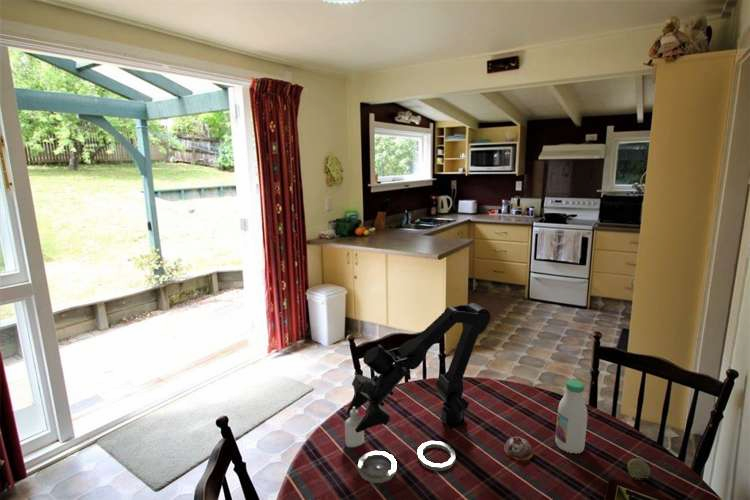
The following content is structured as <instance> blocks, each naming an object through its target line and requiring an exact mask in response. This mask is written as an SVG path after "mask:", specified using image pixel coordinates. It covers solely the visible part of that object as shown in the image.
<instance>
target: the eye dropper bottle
mask: <svg viewBox="0 0 750 500" xmlns="http://www.w3.org/2000/svg"><path fill="white" fill-rule="evenodd" d="M363 418H364V417H362V416H359V410H358V409H356V408H355V407H353V409H352V410H351V411H350V414H349V417H348V418H347V419H346V420H345V421H344V442H345V446H346V447H347V448H357V447H359V446H362V445H364V444H365V430H363V431H361V432H358V433H357V432H356V431H355V429H356V428H357V426H358V425H359V423H360V422H361V421H362V419H363Z"/></svg>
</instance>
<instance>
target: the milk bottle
mask: <svg viewBox="0 0 750 500" xmlns="http://www.w3.org/2000/svg"><path fill="white" fill-rule="evenodd" d="M565 390H566V391H565V394H564V396H562V398H561V400H560V401H559V404H558V407H557V414H556V416H557V417H556V427H555V440H554V441H555V444H556V446H557V447H558V449H560V450H561V451H563V450H564V451H563V452H565V451H566V453H568V452H569V454H572V453H575V454H574V455H578V454H581V453H582V452H583V451H584V450H585V445H586V436H587V435H586V434H587V425H588V407H587V405H586V403H585V402H586V401H585V400H584V396H583V395H584V393H585V385H584V383H583V382H581V381H579V380H575V379H569V380H566V383H565ZM577 453H578V454H577Z"/></svg>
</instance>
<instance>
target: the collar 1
mask: <svg viewBox="0 0 750 500" xmlns="http://www.w3.org/2000/svg"><path fill="white" fill-rule="evenodd" d="M397 466H398V465H397V461H396V459H395V458H394V456H393V455H392V454H389V453H388V452H386V451H380V450H379V451H378V450H373V451H370V452H367V453H364V454H363V455H362V456H361V457H360V458H359V459H358V464H357V472H358V474H359V476H360V477H361V479H363V480H365V481H367V482H369V483H374V484H382V483H385V482H388V481H391V480H392V478H393V477H394V476H395V475H396V474H397V469H398V468H397Z"/></svg>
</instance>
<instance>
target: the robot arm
mask: <svg viewBox="0 0 750 500" xmlns="http://www.w3.org/2000/svg"><path fill="white" fill-rule="evenodd" d="M490 313H491V312H490V311H489V310H488V309H487V308H484V307H483V306H481V305H479V304H477V303H474V302H471V303H469V304H460V305H459V304H458V305H456V306H447V307H446V308H445V309H444V311H443V312H442V313H441V314H440V315H439V316H438V317H437V318H435V320H434V321H433V322H432V323H431V324H429V326H427V327H426V328H425V329H424V330H423V331H421V333H420V334H419V335H418V336H416V337H414V338H411V339H408V340H407V341H405V342H403V344H401V345H400V346H399V347H395V348H391V349H389V350H386V349H385V348H384V347H383V346H382V345H381V344H377V345H376V346H373V347H371V348H370V349H368V350H367V351H366V352H365V354H364V356H363V358H362V361H363V363H364V364H365V365H366V366H367V367H368V368H370V369H371V370H372V371H374V372H375V373H376V374H377V375H373V376H372V378H371V377H368V376H365V375H361V374H357V373H356V374H355V375H354V378H353V380H352V383H351V385H352V386H353V392H354V394H353V397H352V399H351V402H350V404H349V406H348V408H347V411H346V413H347V415H350V411H351V410H352V409H353V407H355V408H356V410H358V409H359V408H360V407H362V406H363V405H364V404H366V403H369V405H368V407H367V408H365V415H364V416H363V417H362V418H363V419H362V421H361V422H360V423H359V425H358V426H357V428H356V429H355V431H356V432H357V433H358V432H361V431H363V430H364V431H365V430H368V429H370V428H373V427H376V426H379V425H380V426H383V425H384V426H387V425H388V423H389V422H390V421H391V415H390V414H389V411H387V408H385V407H383V406H384V405H385V402H384V401H385V400H386V398H387V397H389V395H390V396H393V395H394V394H395V392H394V391H393V390H394V389H395V388H396V387H397V386H398V385H399V384H400V382H401V381H402V379H404V377H405V378H406V379H407V380H408V381H410V380H412V378H411V377H412V376H411V370H416V369H417V368H419V366H420V365H421V364H422V363H423V361H424V360H425V359H426V356H427V353H428V351H429V350H430V348H431V347H433V346H434V345H435V344H436V343H437V342H438V341H439V340H440V339H441V338H442V337H443V336H444V335H446V333H448V331H449V330H451V329H452V328H453V327H454V326H455V325H456V324H462V332H461V334H460V337H459V340H458V342H457V344H456V348H455V350H454V353H453V357H452V359H451V362H450V364H449V366H448V370H447V371H446V372H445V373H443V374H441V373H439V375H438V376H437V377H438V379H437V382H436V383H434V385H435V390H436V393H437V394H438V395H439V396H440V398H441V399H442V400H443V401H444V402H443V403H442V404H443V405H442V408H441V415H440V416H439V418H440V420H441V421H443V422H444V424H446V425H447V426H448V428H450V429H454V428H457V427H461V426H464V425H467V424H468V421H467V420H466V419H465V412H466V411H465V410H468V408H469V404H470V402H469V401H468V400H467V399H466V398H465V397H464V396H463V394H464V379H463V378H464V376H465V372H466V370H467V366H468V365H469V361H470V358H471V357H472V354H473V350H474V348H475V345H476V342H477V341H478V337H479V335H481V334H482V333H483V332H484V331H486V329H487V327H488V325H489V323H490V322H491V319H492V318H491V317H492V315H491V314H490Z"/></svg>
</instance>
